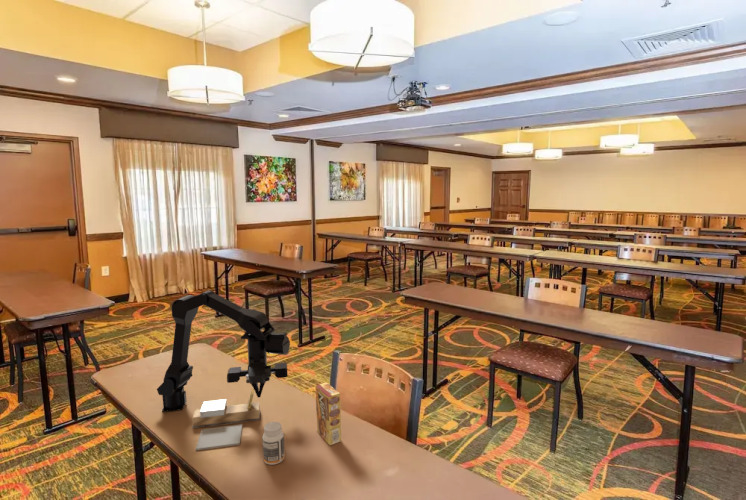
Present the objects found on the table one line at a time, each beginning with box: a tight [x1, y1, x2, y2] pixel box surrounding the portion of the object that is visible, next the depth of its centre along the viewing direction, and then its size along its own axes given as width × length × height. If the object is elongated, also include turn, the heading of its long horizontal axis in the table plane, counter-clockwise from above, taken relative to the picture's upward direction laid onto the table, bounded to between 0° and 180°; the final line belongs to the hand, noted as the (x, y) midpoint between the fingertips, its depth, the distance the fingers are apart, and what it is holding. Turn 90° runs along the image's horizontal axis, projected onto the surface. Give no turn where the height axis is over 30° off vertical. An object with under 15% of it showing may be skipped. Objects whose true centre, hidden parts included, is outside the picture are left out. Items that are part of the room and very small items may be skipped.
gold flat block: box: [247, 388, 255, 410], centre depth 135 cm, size 1×4×5 cm, turn 13°
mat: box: [195, 424, 243, 452], centre depth 124 cm, size 12×10×1 cm
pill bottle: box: [261, 421, 285, 466], centre depth 114 cm, size 6×6×10 cm
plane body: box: [192, 401, 261, 429], centre depth 134 cm, size 20×5×4 cm, turn 103°
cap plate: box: [200, 398, 228, 418], centre depth 133 cm, size 7×6×2 cm
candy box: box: [315, 382, 342, 446], centre depth 123 cm, size 9×4×15 cm, turn 33°
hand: (259, 396), depth 136 cm, fingers closed
